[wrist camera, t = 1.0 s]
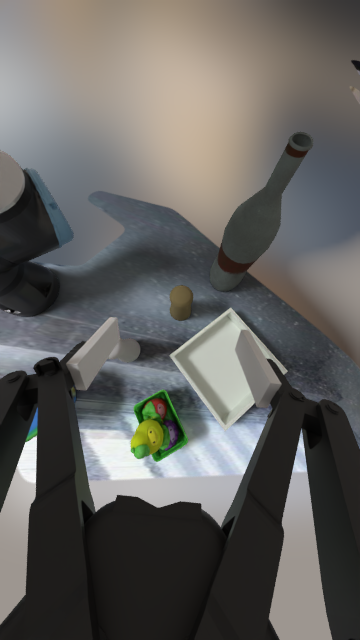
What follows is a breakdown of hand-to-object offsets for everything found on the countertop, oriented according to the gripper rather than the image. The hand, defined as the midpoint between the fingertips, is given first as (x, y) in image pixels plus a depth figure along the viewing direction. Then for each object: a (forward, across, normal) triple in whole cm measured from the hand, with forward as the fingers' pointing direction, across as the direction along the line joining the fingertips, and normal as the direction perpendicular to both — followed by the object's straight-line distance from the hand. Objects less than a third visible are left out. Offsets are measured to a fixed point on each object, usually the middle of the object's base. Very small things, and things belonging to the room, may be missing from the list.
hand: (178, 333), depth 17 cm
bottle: (+33, +11, -2) cm, 35 cm away
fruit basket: (+7, -3, -29) cm, 30 cm away
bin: (+16, +12, -19) cm, 27 cm away
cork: (+25, 0, -10) cm, 27 cm away
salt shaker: (+17, -12, -18) cm, 28 cm away
